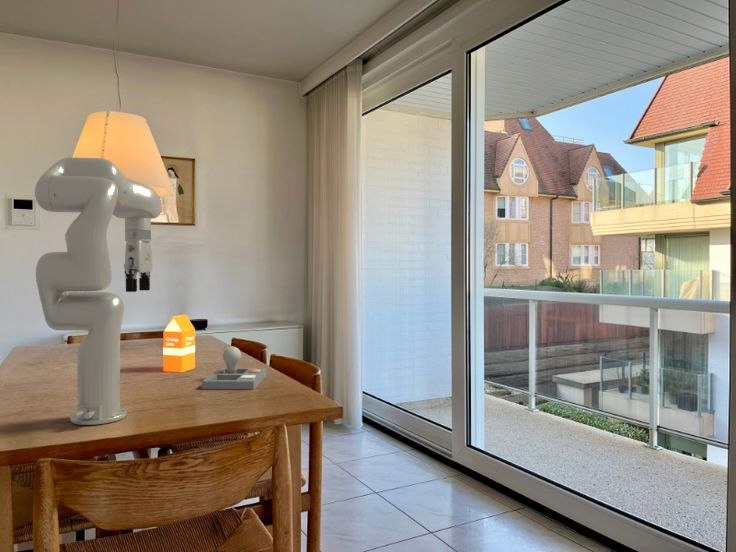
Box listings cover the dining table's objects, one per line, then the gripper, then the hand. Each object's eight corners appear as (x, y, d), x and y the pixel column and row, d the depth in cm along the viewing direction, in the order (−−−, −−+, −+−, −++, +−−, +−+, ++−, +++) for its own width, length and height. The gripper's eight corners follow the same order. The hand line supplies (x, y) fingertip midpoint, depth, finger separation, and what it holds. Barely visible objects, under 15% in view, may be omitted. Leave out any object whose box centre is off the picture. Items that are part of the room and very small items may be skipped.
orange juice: (163, 371, 194) (162, 316, 194) (177, 366, 203) (177, 314, 202) (182, 372, 192) (182, 316, 192) (195, 367, 201) (195, 314, 200)
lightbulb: (236, 381, 178) (235, 348, 177) (219, 380, 179) (219, 347, 179) (244, 377, 184) (244, 345, 183) (228, 376, 185) (227, 344, 185)
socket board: (253, 389, 166) (253, 380, 166) (202, 389, 166) (202, 380, 166) (266, 375, 188) (266, 366, 188) (221, 375, 188) (221, 366, 188)
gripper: (138, 235, 159) (138, 292, 159) (160, 238, 176) (160, 289, 177) (113, 234, 159) (113, 292, 159) (137, 238, 176) (137, 289, 177)
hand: (138, 291), depth 168 cm, fingers open, 9 cm apart
